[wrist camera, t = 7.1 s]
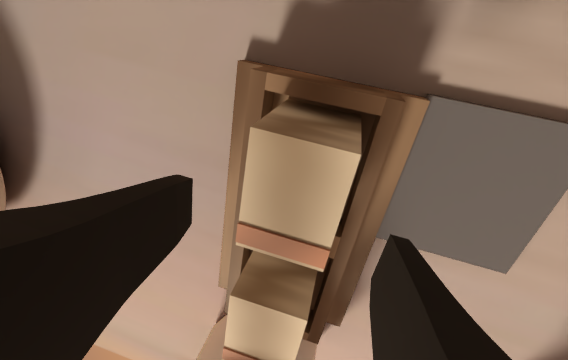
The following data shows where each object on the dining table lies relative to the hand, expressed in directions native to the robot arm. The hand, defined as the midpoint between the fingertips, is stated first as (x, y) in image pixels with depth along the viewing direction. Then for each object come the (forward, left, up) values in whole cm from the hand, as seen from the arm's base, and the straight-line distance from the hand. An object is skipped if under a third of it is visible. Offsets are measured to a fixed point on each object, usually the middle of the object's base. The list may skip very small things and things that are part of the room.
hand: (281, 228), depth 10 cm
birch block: (0, 0, -7) cm, 7 cm away
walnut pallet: (0, +4, -8) cm, 9 cm away
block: (0, +9, -7) cm, 11 cm away
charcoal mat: (-9, 0, -8) cm, 12 cm away
